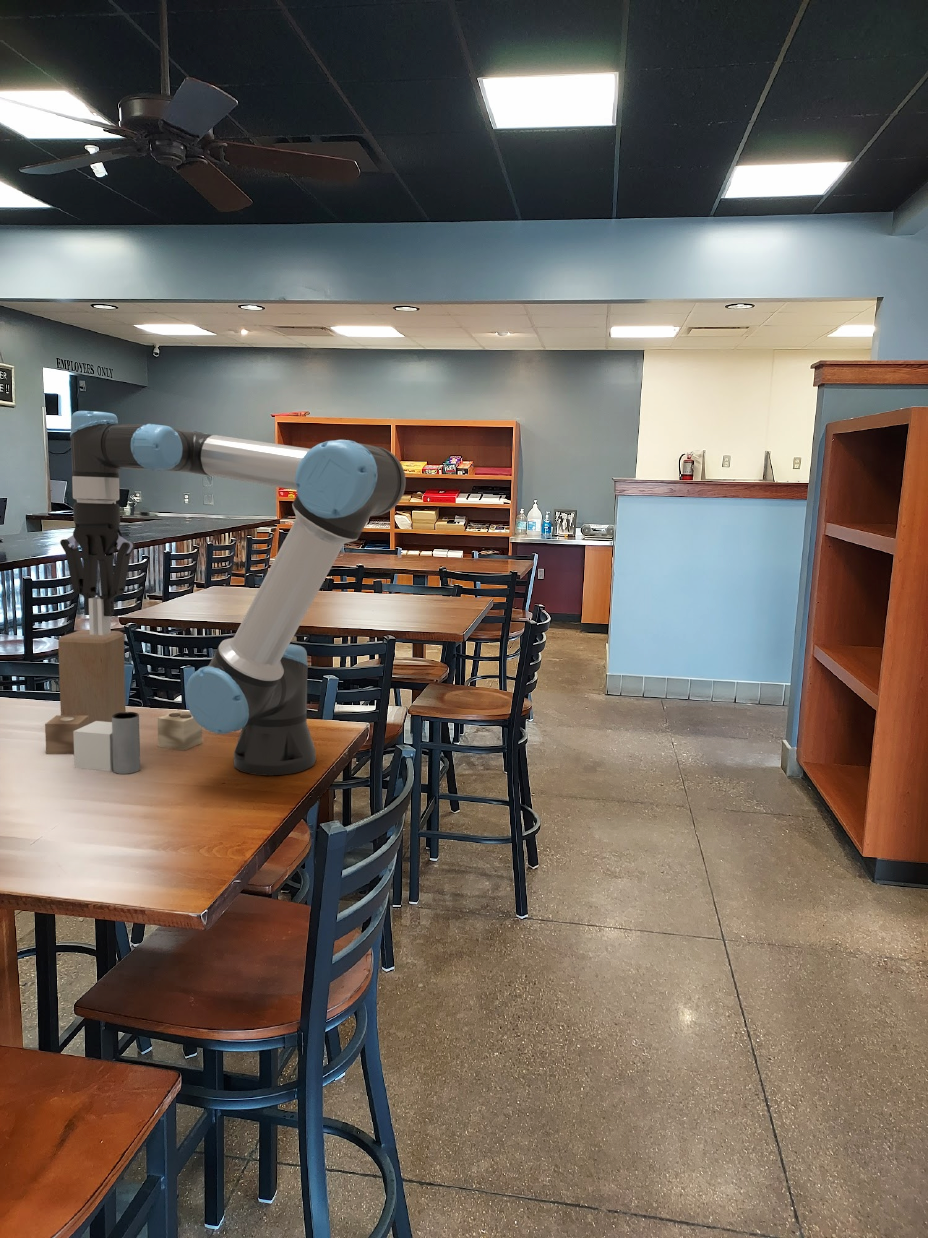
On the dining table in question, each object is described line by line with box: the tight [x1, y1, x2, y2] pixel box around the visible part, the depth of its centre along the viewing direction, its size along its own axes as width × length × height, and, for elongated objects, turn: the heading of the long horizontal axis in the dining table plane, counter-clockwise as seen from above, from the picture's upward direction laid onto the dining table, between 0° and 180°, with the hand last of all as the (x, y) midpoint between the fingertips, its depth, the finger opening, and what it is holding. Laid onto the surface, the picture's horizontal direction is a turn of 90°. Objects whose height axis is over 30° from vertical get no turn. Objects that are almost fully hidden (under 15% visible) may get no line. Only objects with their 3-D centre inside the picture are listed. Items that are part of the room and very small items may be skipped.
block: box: [57, 629, 127, 724], centre depth 172 cm, size 10×10×20 cm
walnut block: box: [44, 714, 89, 755], centre depth 157 cm, size 6×6×6 cm
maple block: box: [157, 710, 203, 752], centre depth 163 cm, size 6×6×6 cm
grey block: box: [73, 721, 113, 772], centre depth 150 cm, size 7×7×7 cm
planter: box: [112, 711, 141, 775], centre depth 146 cm, size 4×4×10 cm
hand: (100, 633), depth 147 cm, fingers closed
